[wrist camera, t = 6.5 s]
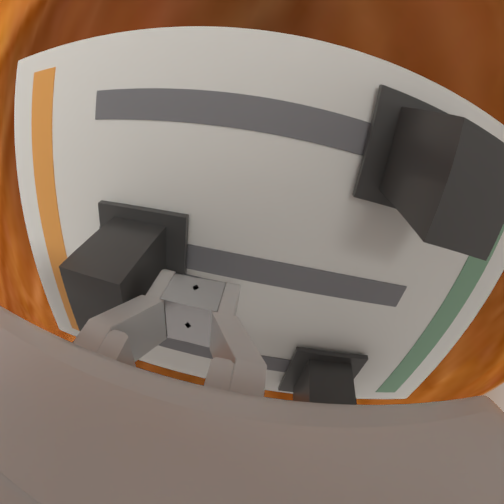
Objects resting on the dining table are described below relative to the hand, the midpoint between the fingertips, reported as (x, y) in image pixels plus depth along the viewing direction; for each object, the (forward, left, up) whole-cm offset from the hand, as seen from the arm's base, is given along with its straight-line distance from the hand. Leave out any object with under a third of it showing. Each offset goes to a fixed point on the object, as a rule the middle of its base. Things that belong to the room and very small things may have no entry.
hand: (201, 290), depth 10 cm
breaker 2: (-7, -6, -2) cm, 9 cm away
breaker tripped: (+3, 0, -1) cm, 3 cm away
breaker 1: (-6, +6, -2) cm, 9 cm away
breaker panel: (-2, 0, -5) cm, 5 cm away
